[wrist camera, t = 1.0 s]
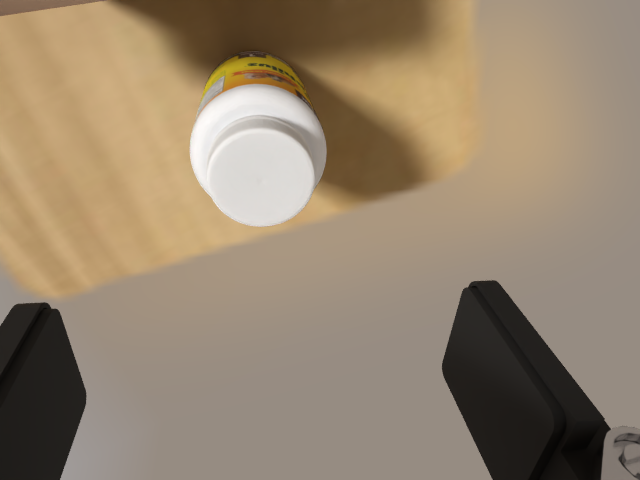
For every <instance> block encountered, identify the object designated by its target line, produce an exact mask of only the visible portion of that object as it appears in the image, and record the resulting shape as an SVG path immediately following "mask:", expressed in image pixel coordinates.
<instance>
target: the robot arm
mask: <svg viewBox="0 0 640 480" xmlns="http://www.w3.org/2000/svg"><path fill="white" fill-rule="evenodd" d="M442 371H443V376H444V378H445V380H446V383H447V384H448V387H449V389H450V391H451V393H452V395H453V397H454V399H455V401H456V404H457V406H458V408H459V410H460V412H461V414H462V416H463V418H464V420H465V422H466V425H467V427H468V429H469V431H470V433H471V435H472V437H473V439H474V441H475V443H476V446H477V448H478V450H479V452H480V454H481V456H482V458H483V460H484V462H485V464H486V467H487V469H488V471H489V473H490V475H491V477H492V479H493V480H640V429H638V428H635V427H627V426H620V427H616V428H612V429H610V427H609V426H608V425H607V423H606V422H605V421H604V418H603V416H602V415H601V414H600V412H599V411H598V410H597V408H596V407H595V406H594V405H593V403H592V402H591V401H590V399H589V398H588V397H587V396H586V394H585V393H584V392H583V390H582V389H581V388H580V387H579V385H578V384H577V383H576V382H575V380H574V379H573V378H572V376H571V375H570V374H569V372H568V371H567V370H566V369H565V367H564V366H563V365H562V363H561V362H560V361H559V360H558V358H557V357H556V356H555V355H554V353H553V352H552V351H551V349H550V348H549V347H548V345H547V344H546V343H545V342H544V340H543V339H542V338H541V336H540V335H539V334H538V333H537V331H536V330H535V329H534V328H533V326H532V325H531V324H530V322H529V321H528V320H527V318H526V317H525V316H524V315H523V313H522V312H521V311H520V310H519V308H518V307H517V306H516V304H515V303H514V302H513V301H512V299H511V298H510V297H509V295H508V294H507V293H506V292H505V290H504V289H503V288H502V286H501V285H500V284H499V283H498V282H497V281H493V280H492V281H474V282H471V283H470V285H469V287H468V288H465V289H463V291H462V294H461V298H460V302H459V305H458V309H457V312H456V316H455V320H454V323H453V327H452V330H451V334H450V337H449V342H448V345H447V348H446V352H445V355H444V359H443V363H442ZM85 405H86V390H85V387H84V384H83V381H82V378H81V375H80V372H79V369H78V366H77V363H76V360H75V357H74V354H73V351H72V348H71V345H70V342H69V339H68V336H67V332H66V329H65V327H64V324H63V320H62V317H61V315H60V312H59V311H58V310H57V309H51V307H50V305H49V304H48V303H26V304H16V305H15V306H14V307H13V308H12V309H11V310H10V312H9V314H8V315H7V317H6V318H5V320H4V321H3V323H2V324H1V326H0V480H60V478H61V475H62V472H63V469H64V466H65V463H66V461H67V458H68V455H69V452H70V449H71V446H72V443H73V440H74V437H75V435H76V432H77V429H78V426H79V423H80V420H81V417H82V414H83V412H84V409H85Z"/></svg>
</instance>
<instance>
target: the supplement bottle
mask: <svg viewBox="0 0 640 480" xmlns="http://www.w3.org/2000/svg"><path fill="white" fill-rule="evenodd" d="M326 155H327V148H326V140H325V136H324V133H323V128H322V126H321V124H320V122H319V119H318V117H317V115H316V113H315V111H314V108H313V106H312V103H311V101H310V99H309V97H308V94H307V92H306V90H305V87H304V85H303V83H302V81H301V80H300V78H299V76H298V75H297V73H296V72H295V71H294V70H293V69H292V68H291V67H290V66H289V65H288V64H287V63H286V62H285V61H283V60H281V59H280V58H278V57H276V56H274V55H271V54H268V53H264V52H258V51H249V52H242V53H238V54H235V55H233V56H231V57H229V58H227V59H225V60H224V61H223V62H221V63H220V64H219V65H218V66H217V67H216V68H215V69H214V71H213V72H212V73H211V75H210V77H209V78H208V81H207V83H206V85H205V89H204V92H203V95H202V99H201V102H200V106H199V109H198V113H197V116H196V119H195V123H194V126H193V129H192V134H191V139H190V158H191V164H192V168H193V170H194V173H195V175H196V177H197V179H198V181H199V183H200V185H201V186H202V187H203V189H204V190H205V191H206V192H207V193H208V194H209V195H210V197H211V198H212V199H213V201H214V203H215V204H216V205H217V207H218V208H219V209H220V210H221V211H222V212H223V213H224V214H226V215H227V216H228V217H230V218H232V219H233V220H235V221H237V222H239V223H242V224H245V225H249V226H258V227H266V226H273V225H277V224H280V223H283V222H285V221H287V220H289V219H291V218H293V217H294V216H296V215H297V214H298V213H299V212H300V211H301V210H302V209H303V208H304V207H305V206H306V204H307V203H308V201H309V200H310V198H311V196H312V193H313V190H314V189H315V187H316V186H317V184H318V182H319V181H320V179H321V177H322V174H323V171H324V168H325V163H326Z"/></svg>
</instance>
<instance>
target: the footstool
mask: <svg viewBox="0 0 640 480" xmlns="http://www.w3.org/2000/svg"><path fill="white" fill-rule="evenodd" d="M98 1H105V0H0V16H4V15H11V14H17V13H24V12H31V11H38V10H44V9H51V8H58V7H65V6H71V5H78V4H85V3H92V2H98Z"/></svg>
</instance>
